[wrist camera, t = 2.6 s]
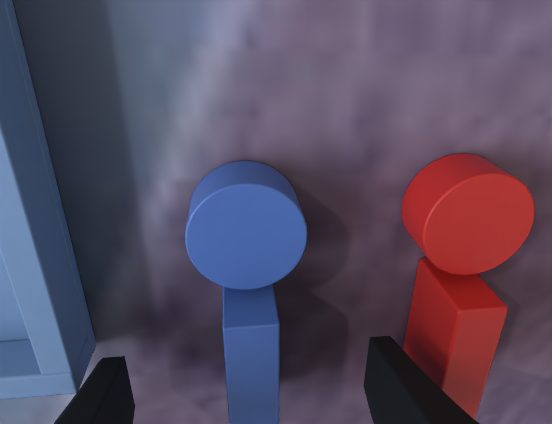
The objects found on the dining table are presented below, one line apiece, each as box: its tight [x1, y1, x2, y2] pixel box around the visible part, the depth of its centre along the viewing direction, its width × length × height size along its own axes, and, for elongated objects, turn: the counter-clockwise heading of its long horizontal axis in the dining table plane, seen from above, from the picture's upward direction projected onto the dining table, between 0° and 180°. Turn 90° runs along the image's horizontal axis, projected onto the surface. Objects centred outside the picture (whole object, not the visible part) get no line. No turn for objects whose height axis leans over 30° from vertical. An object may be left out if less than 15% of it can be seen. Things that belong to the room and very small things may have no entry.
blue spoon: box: [185, 161, 307, 424], centre depth 12 cm, size 8×3×3 cm, turn 0°
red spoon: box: [401, 153, 535, 420], centre depth 13 cm, size 8×3×3 cm, turn 0°
